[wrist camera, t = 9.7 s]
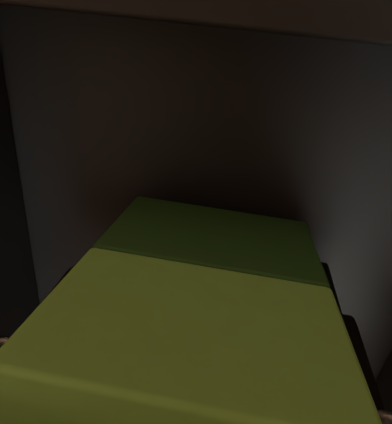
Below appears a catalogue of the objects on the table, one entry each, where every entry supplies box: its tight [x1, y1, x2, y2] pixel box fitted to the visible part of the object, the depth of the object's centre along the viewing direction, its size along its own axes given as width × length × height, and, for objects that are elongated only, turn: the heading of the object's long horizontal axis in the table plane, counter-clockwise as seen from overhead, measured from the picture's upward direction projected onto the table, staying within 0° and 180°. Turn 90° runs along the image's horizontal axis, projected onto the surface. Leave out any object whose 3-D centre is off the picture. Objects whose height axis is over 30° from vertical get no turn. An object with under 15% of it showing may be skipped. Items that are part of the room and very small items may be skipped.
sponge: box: [0, 196, 382, 424], centre depth 8 cm, size 6×4×6 cm
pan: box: [0, 0, 392, 412], centre depth 11 cm, size 18×14×3 cm
